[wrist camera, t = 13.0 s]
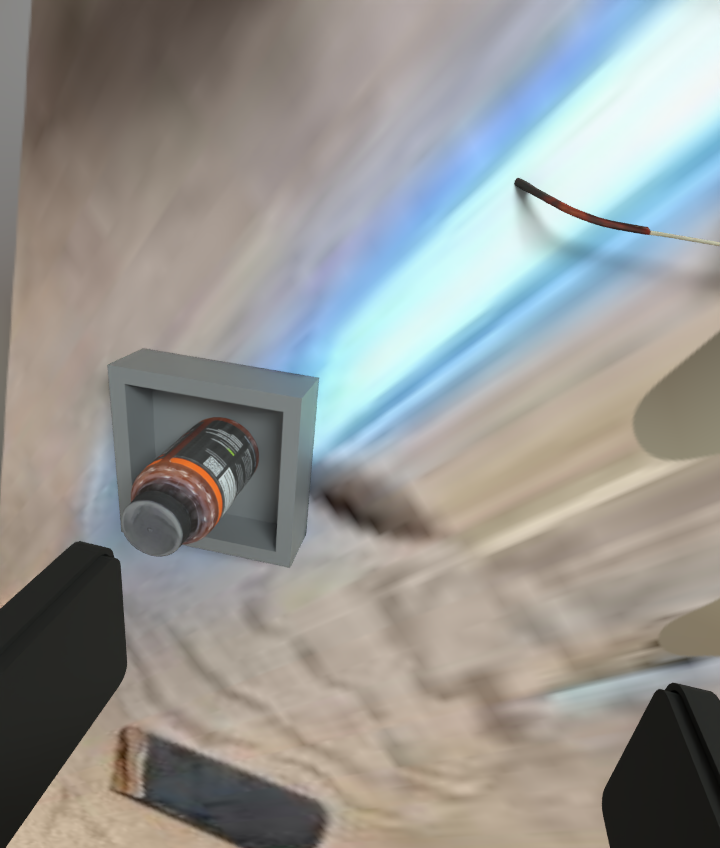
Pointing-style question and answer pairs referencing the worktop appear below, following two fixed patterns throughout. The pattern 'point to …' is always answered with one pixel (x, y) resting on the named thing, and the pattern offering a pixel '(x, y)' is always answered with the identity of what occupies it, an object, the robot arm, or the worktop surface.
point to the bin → (237, 400)
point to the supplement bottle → (189, 486)
